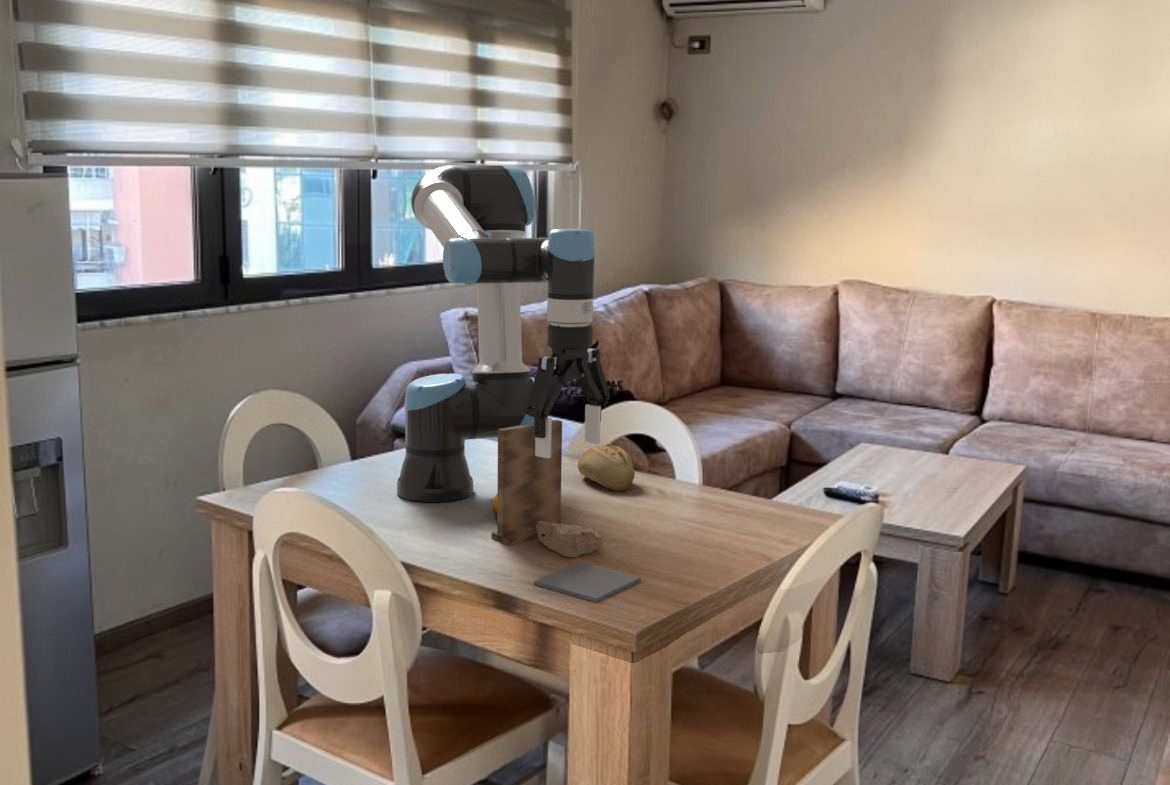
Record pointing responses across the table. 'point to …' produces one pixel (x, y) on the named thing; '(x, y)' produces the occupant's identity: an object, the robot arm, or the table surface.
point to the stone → (568, 538)
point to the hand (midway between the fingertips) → (568, 449)
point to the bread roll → (607, 467)
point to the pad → (587, 581)
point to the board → (527, 483)
